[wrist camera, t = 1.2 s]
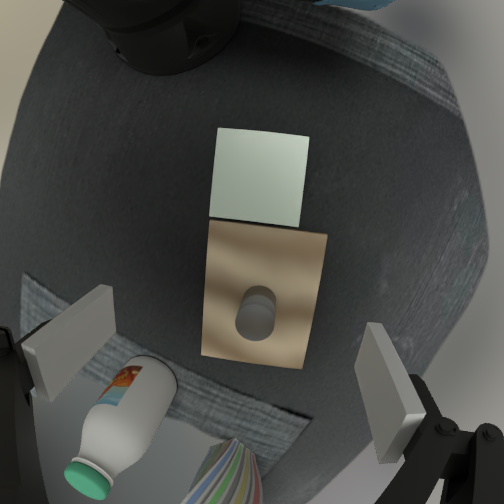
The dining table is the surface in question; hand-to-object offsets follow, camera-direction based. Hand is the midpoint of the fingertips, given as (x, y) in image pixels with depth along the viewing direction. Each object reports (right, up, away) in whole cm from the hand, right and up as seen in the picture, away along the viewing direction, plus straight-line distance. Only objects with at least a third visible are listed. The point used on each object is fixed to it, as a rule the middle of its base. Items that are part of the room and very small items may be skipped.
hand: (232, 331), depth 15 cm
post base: (+2, -1, +19) cm, 20 cm away
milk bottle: (-13, -13, +24) cm, 30 cm away
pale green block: (+2, +11, +16) cm, 20 cm away
